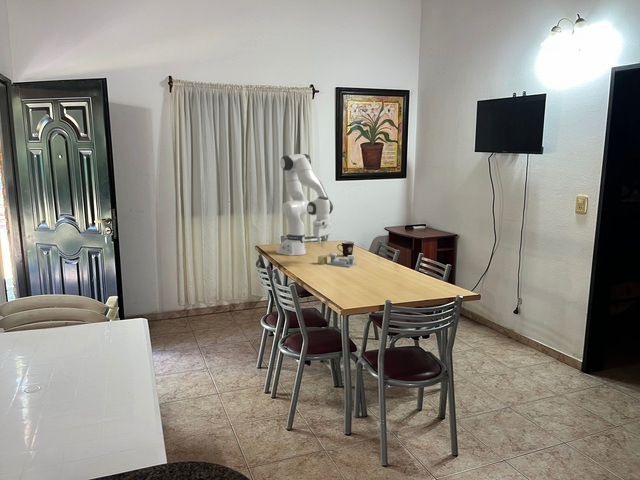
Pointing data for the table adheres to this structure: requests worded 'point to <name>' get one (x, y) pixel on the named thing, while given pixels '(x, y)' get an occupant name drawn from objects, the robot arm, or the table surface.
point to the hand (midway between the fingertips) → (323, 242)
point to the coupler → (322, 260)
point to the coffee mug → (347, 248)
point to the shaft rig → (342, 261)
